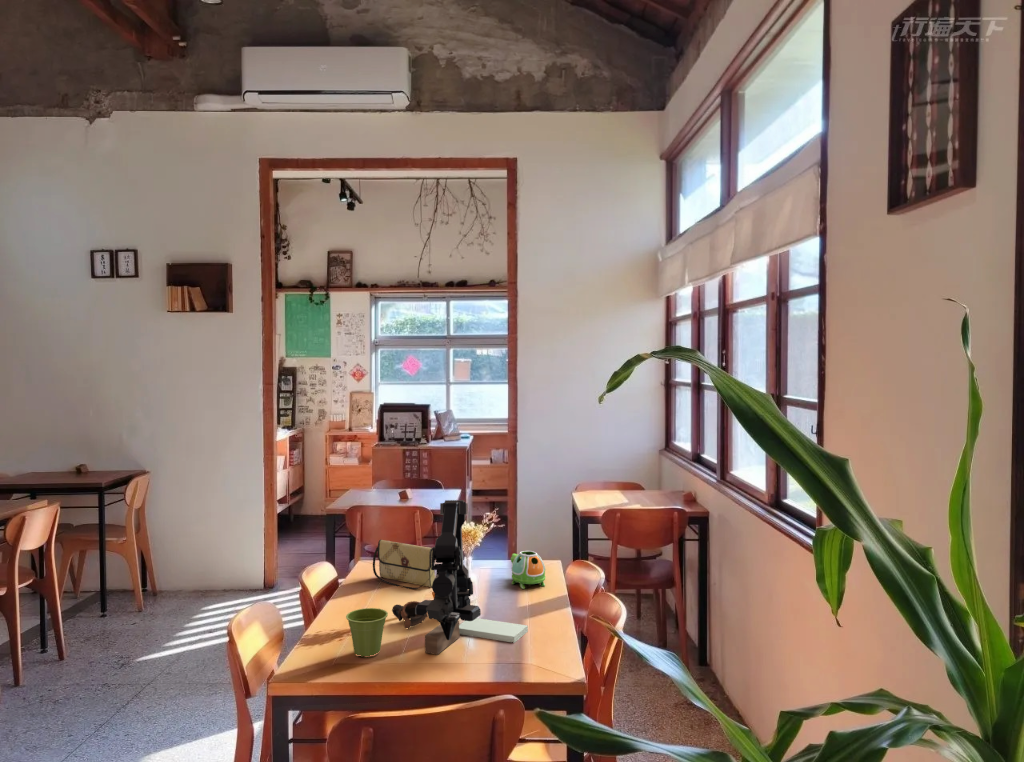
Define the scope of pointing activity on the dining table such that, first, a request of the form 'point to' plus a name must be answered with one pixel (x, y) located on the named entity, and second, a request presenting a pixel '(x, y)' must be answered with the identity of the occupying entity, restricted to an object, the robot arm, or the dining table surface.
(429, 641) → the folding leg
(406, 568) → the clutch purse
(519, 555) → the turtle holder
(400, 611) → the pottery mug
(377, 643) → the plant pot
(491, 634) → the pale green flat block
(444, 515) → the robot arm
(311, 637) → the dining table surface
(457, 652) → the dining table surface
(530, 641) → the dining table surface
